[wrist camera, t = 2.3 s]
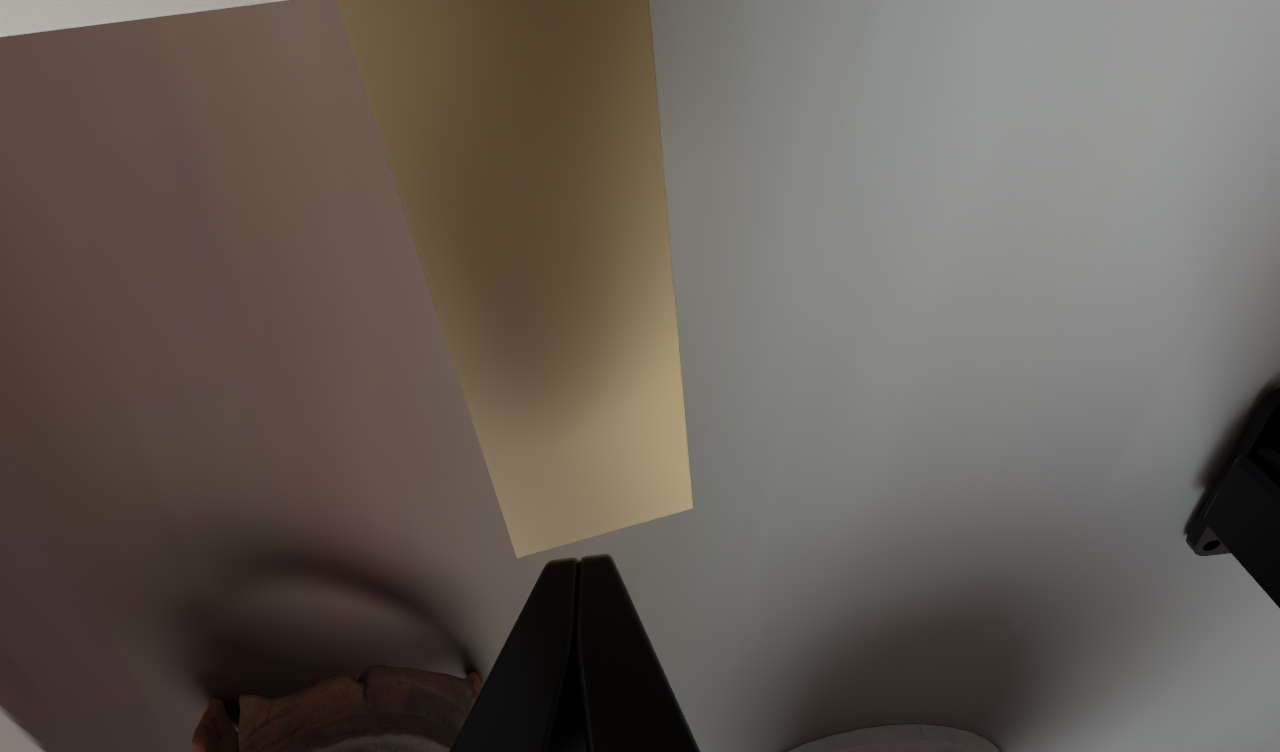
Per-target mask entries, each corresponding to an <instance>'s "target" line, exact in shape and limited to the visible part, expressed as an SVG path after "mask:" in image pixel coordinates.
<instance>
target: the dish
mask: <svg viewBox="0 0 1280 752" xmlns="http://www.w3.org/2000/svg"><path fill="white" fill-rule="evenodd" d="M277 1H285V0H0V37H4V36H12V35H19V34H27V33H35V32H43V31H51V30H59V29H66V28H74V27H82V26H90V25H98V24H105V23H113V22H121V21H129V20H137V19H145V18H152V17H160V16H168V15H176V14H184V13H191V12H199V11H207V10H215V9H223V8H231V7H238V6H246V5H254V4H262V3H270V2H277Z"/></svg>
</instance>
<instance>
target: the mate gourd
mask: <svg viewBox="0 0 1280 752" xmlns="http://www.w3.org/2000/svg"><path fill="white" fill-rule="evenodd" d="M787 752H999V750H998V748H997V747H996V746H994V745H993V744H992V743H990V742H989V741H988V740H987V739H985V738H983V737H980V736H978V735H976V734H973V733H971V732H969V731H965V730H960V729H956V728H951V727H947V726H936V725H925V724H905V725H886V726H878V727H870V728H862V729H857V730H852V731H848V732H843V733H838V734H834V735H830V736H827V737H824V738H821V739H818V740H815V741H811V742H808V743H805V744H803V745H801V746H798V747H796V748H794V749H791V750H789V751H787Z"/></svg>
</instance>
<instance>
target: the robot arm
mask: <svg viewBox="0 0 1280 752" xmlns="http://www.w3.org/2000/svg"><path fill="white" fill-rule="evenodd" d="M1186 542H1187V544H1188V545H1189V546H1190V548H1191V549H1192V550H1193V551H1194V552H1195V554H1197V555H1199V556H1209V555H1218V554H1226V553H1232V554H1233V555H1234V557H1235V558H1236V559H1237V560H1238V561H1239V562H1240V563H1241V565H1242V566H1243V567H1244V568H1245V569H1246V570H1247V571H1248V573H1249V574H1250V575H1251V576H1252V577H1253V578H1254V579H1255V580H1256V582H1257V583H1258V584H1259V585H1260V586H1261V587H1262V588H1263V590H1264V591H1265V592H1266V593H1267V594H1268V595H1269V596H1270V598H1271V599H1272V600H1273V601H1274V602H1275V603H1276V604H1277V606H1278V607H1279V608H1280V388H1278V389H1276V390H1274V391H1272V392H1270V393H1269V394H1268V395H1266V396H1265V397H1264V398H1263V400H1262V401H1261V402H1260V404H1259V406H1258V408H1257V410H1256V411H1255V413H1254V415H1253V417H1252V419H1251V421H1250V422H1249V424H1248V426H1247V428H1246V430H1245V432H1244V433H1243V435H1242V437H1241V439H1240V441H1239V443H1238V444H1237V446H1236V448H1235V450H1234V452H1233V454H1232V455H1231V457H1230V459H1229V461H1228V463H1227V465H1226V466H1225V468H1224V470H1223V472H1222V474H1221V475H1220V477H1219V479H1218V481H1217V483H1216V485H1215V486H1214V488H1213V490H1212V492H1211V494H1210V496H1209V497H1208V499H1207V501H1206V503H1205V505H1204V507H1203V508H1202V510H1201V512H1200V514H1199V516H1198V518H1197V519H1196V521H1195V523H1194V525H1193V527H1192V529H1191V530H1190V532H1189V534H1188V536H1187V539H1186ZM449 752H700V750H699V748H698V746H697V744H696V741H695V739H694V737H693V735H692V733H691V730H690V728H689V726H688V724H687V721H686V719H685V717H684V715H683V713H682V710H681V708H680V706H679V704H678V702H677V699H676V697H675V695H674V693H673V691H672V688H671V686H670V684H669V682H668V679H667V677H666V675H665V673H664V671H663V668H662V666H661V664H660V662H659V660H658V657H657V655H656V653H655V651H654V649H653V646H652V644H651V642H650V640H649V638H648V635H647V633H646V631H645V629H644V626H643V624H642V622H641V620H640V618H639V615H638V613H637V611H636V609H635V607H634V604H633V602H632V600H631V598H630V596H629V593H628V591H627V589H626V587H625V584H624V582H623V580H622V578H621V576H620V573H619V571H618V569H617V567H616V565H615V562H614V560H613V558H612V557H611V556H610V555H608V554H602V555H593V556H585V557H583V558H582V559H581V560H580V561H579V560H578V559H577V558H566V559H557V560H551V561H549V562H548V563H547V564H546V565H545V567H544V569H543V571H542V572H541V574H540V576H539V578H538V580H537V582H536V584H535V586H534V588H533V590H532V592H531V594H530V596H529V598H528V600H527V602H526V604H525V606H524V607H523V609H522V611H521V613H520V615H519V617H518V619H517V621H516V623H515V625H514V627H513V629H512V631H511V633H510V635H509V637H508V639H507V640H506V642H505V644H504V646H503V648H502V650H501V652H500V654H499V656H498V658H497V660H496V662H495V664H494V666H493V668H492V670H491V672H490V673H489V675H488V677H487V679H486V681H485V683H484V685H483V687H482V689H481V691H480V693H479V695H478V697H477V699H476V701H475V703H474V705H473V706H472V708H471V710H470V712H469V714H468V716H467V718H466V720H465V722H464V724H463V726H462V728H461V730H460V732H459V734H458V736H457V738H456V740H455V741H454V743H453V745H452V747H451V749H450V751H449Z"/></svg>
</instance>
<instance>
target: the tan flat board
mask: <svg viewBox="0 0 1280 752" xmlns="http://www.w3.org/2000/svg"><path fill="white" fill-rule="evenodd" d="M335 1H336V4H337V7H338V10H339V13H340V16H341V19H342V22H343V25H344V28H345V31H346V35H347V38H348V41H349V44H350V47H351V50H352V53H353V56H354V59H355V62H356V65H357V68H358V71H359V74H360V78H361V81H362V84H363V87H364V90H365V93H366V96H367V99H368V102H369V105H370V108H371V111H372V114H373V117H374V121H375V124H376V127H377V130H378V133H379V136H380V139H381V142H382V145H383V148H384V151H385V154H386V157H387V160H388V164H389V167H390V170H391V173H392V176H393V179H394V182H395V185H396V188H397V191H398V194H399V197H400V200H401V203H402V207H403V210H404V213H405V216H406V219H407V222H408V225H409V228H410V231H411V234H412V237H413V240H414V243H415V246H416V250H417V253H418V256H419V259H420V262H421V265H422V268H423V271H424V274H425V277H426V280H427V283H428V286H429V289H430V293H431V296H432V299H433V302H434V305H435V308H436V311H437V314H438V317H439V320H440V323H441V326H442V329H443V332H444V336H445V339H446V342H447V345H448V348H449V351H450V354H451V357H452V360H453V363H454V366H455V369H456V372H457V375H458V379H459V382H460V385H461V388H462V391H463V394H464V397H465V400H466V403H467V406H468V409H469V412H470V415H471V418H472V422H473V425H474V428H475V431H476V434H477V437H478V440H479V443H480V446H481V449H482V452H483V455H484V458H485V461H486V465H487V468H488V471H489V474H490V477H491V480H492V483H493V486H494V489H495V492H496V495H497V498H498V501H499V504H500V508H501V511H502V514H503V517H504V520H505V523H506V526H507V529H508V532H509V535H510V538H511V541H512V544H513V547H514V551H515V554H516V557H517V558H520V557H523V556H527V555H530V554H534V553H537V552H541V551H544V550H548V549H551V548H555V547H558V546H562V545H565V544H569V543H573V542H576V541H580V540H583V539H587V538H590V537H594V536H597V535H601V534H604V533H608V532H611V531H615V530H618V529H622V528H625V527H629V526H633V525H636V524H640V523H643V522H647V521H650V520H654V519H657V518H661V517H664V516H668V515H671V514H675V513H678V512H682V511H685V510H689V509H693V503H692V492H691V480H690V469H689V457H688V446H687V434H686V423H685V411H684V400H683V388H682V377H681V365H680V354H679V342H678V331H677V319H676V308H675V296H674V285H673V273H672V262H671V250H670V239H669V227H668V216H667V204H666V193H665V181H664V170H663V158H662V147H661V135H660V124H659V112H658V101H657V89H656V77H655V66H654V54H653V43H652V31H651V20H650V8H649V0H335Z"/></svg>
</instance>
